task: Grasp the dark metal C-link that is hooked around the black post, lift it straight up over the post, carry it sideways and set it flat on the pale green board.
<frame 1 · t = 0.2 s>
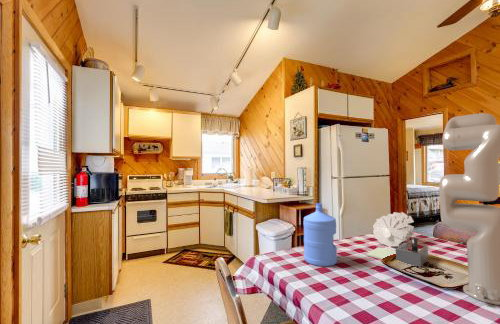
hand: (489, 196, 115), 31 cm above the table, tool pointing down, fingers open, 9 cm apart
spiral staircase: (394, 243, 144), on the table
water jug: (320, 261, 118), on the table
stand: (415, 257, 120), on the table
board: (383, 254, 125), on the table
c link: (408, 263, 113), on the table
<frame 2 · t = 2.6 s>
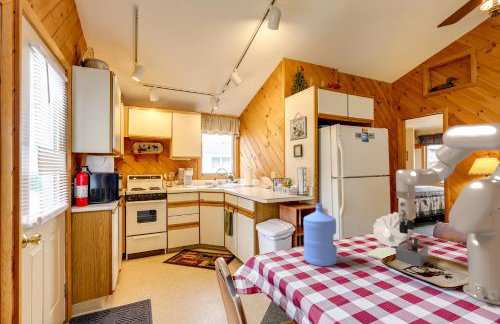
hand: (406, 231, 114), 15 cm above the table, tool pointing down, fingers open, 9 cm apart
nothing on the table moved.
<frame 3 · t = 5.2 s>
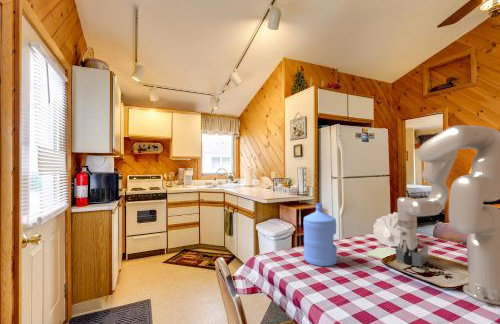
hand: (408, 262, 113), 0 cm above the table, tool pointing down, fingers closed on c link
c link: (408, 263, 113), on the table, touching gripper
everything else where it was.
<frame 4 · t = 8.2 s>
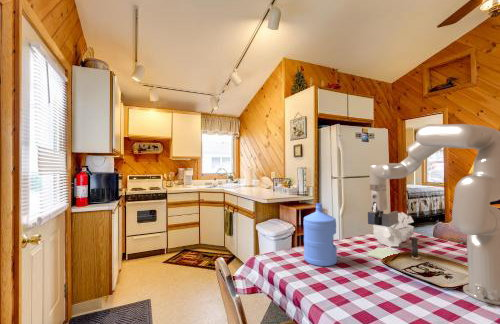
hand: (379, 223, 122), 17 cm above the table, tool pointing down, fingers closed on c link
c link: (379, 225, 122), point 16 cm above the table, touching gripper
everything else where it was.
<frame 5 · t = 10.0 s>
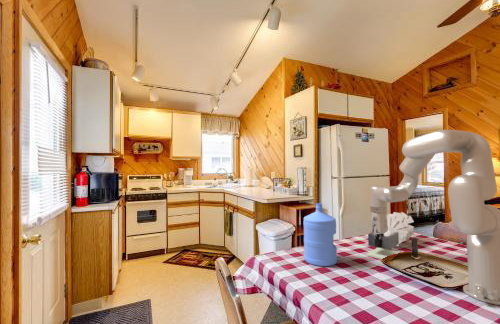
hand: (379, 245, 122), 5 cm above the table, tool pointing down, fingers closed on c link
c link: (379, 247, 122), point 5 cm above the table, touching gripper
everything else where it was.
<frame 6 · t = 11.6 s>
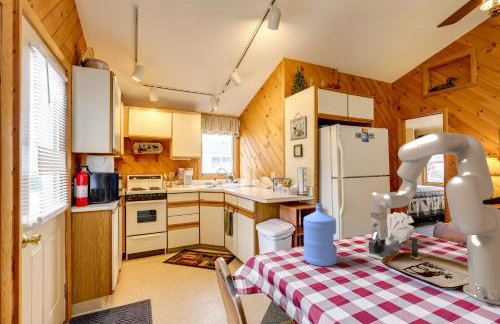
hand: (380, 251, 122), 3 cm above the table, tool pointing down, fingers open, 5 cm apart
c link: (380, 255, 122), point 1 cm above the table, touching board
everything else where it was.
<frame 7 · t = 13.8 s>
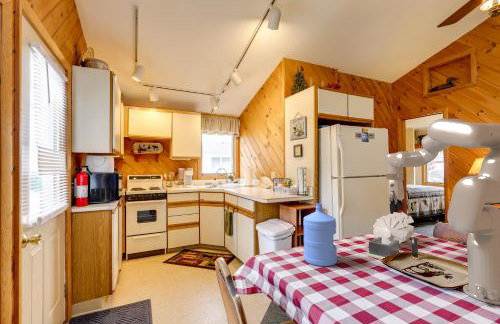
hand: (396, 211, 122), 23 cm above the table, tool pointing down, fingers open, 9 cm apart
nothing on the table moved.
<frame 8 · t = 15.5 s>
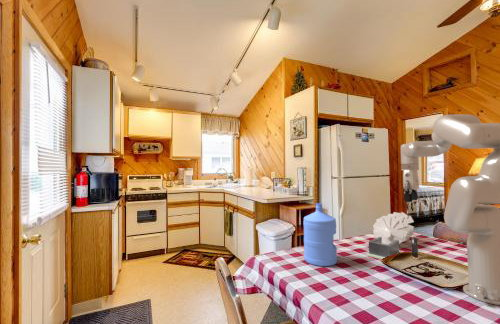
hand: (411, 200, 122), 28 cm above the table, tool pointing down, fingers open, 9 cm apart
nothing on the table moved.
at the end: c link inside the target area on the board (2.2 cm from its centre), point 0.8 cm above the board's base; c link tilted 0°; c link moved 12.5 cm from its start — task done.
